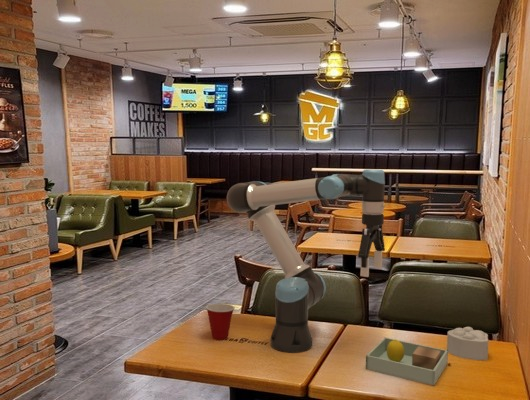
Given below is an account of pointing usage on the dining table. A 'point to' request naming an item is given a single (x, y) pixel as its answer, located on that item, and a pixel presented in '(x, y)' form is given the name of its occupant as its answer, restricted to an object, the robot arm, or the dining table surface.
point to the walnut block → (425, 357)
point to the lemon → (395, 351)
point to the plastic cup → (220, 320)
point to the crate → (404, 363)
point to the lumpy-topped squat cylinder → (468, 343)
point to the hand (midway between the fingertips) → (371, 272)
